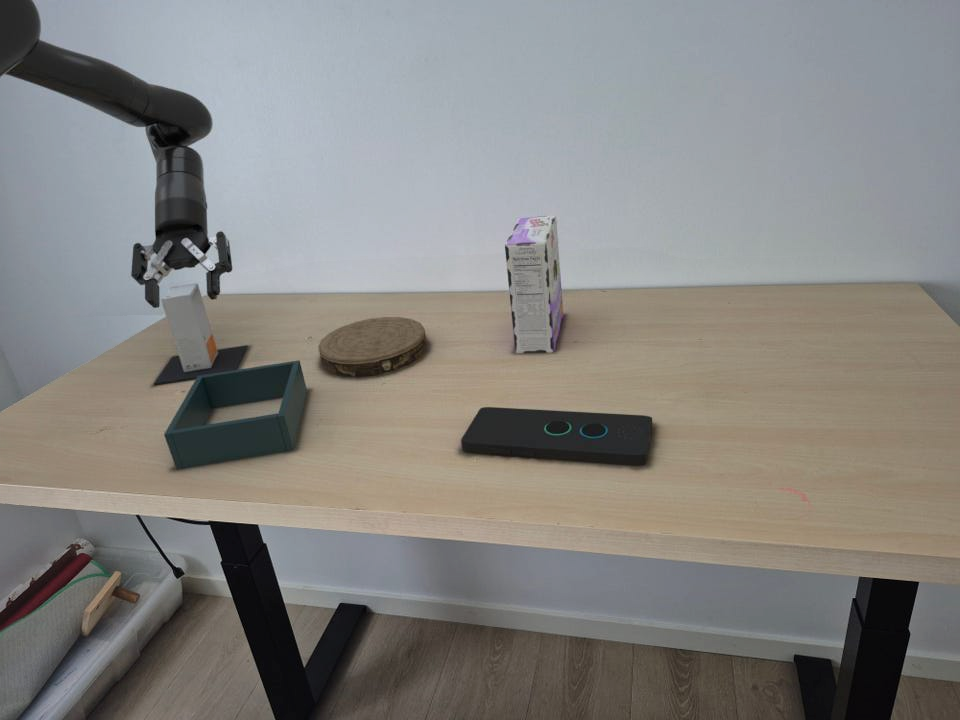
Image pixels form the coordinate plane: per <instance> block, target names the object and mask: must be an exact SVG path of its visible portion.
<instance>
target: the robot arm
mask: <svg viewBox="0 0 960 720" xmlns="http://www.w3.org/2000/svg"><path fill="white" fill-rule="evenodd" d="M41 34H42V21H41V17H40V12H39V10H38V7H37V5H36V4H35V2H34V0H0V78H1V77H3V76H4V75H6V76H9V77H12V78H15V79H19V80H22V81H24V82H27V83H30V84H34V85H36V86H39V87H41V88H45V89H47V90H50V91H52V92H55V93H59V94H60V95H64V96H65V97H67V98H70V99H73V100H76V101H77V102H80V103H81V104H84V105H87V106H89V107H90V108H93V109H95V110H98V111H99V112H101V113H104V114H106V115H108V116H110V117H112V118H115V119H116V120H119V121H121V122H122V123H125V124H126V125H127V124H128V125H129V126H132V127H136V128H144V129H145V130H144V131H145V134H146V135H145V136H146V137H147V141H148V144H149V146H150V149H151V152H152V155H153V158H154V161H155V165H156V168H155V170H156V171H155V173H156V174H155V175H156V178H155V180H156V183H155V184H156V185H155V190H154V234H155V235H154V236H155V240H154V241H153V244H151V245H150V244H149V245H142V244H141V243H140V242H136V243H134V244H133V246H132V257H131V258H132V259H131V271H130V274H131V275H130V276H131V278H132V279H133V280H135V282H137V283H138V285H140V286H144V299H145V302H147V303H148V304H149V306H151V307H152V308H153V309H157V308H160V306H161V305H160V303H161V301H160V286H159V284H160V283H161V282H162V280H163V279H164V278H165V277H168V276H169V275H170V273H171V272H172V271H173V270H174V271H179V270H182V269H186V268H187V269H193V268H196V266H197V265H200V266H201V267H203V269H204V270H206V272H205V273H206V274H205V279H206V294H207V296H208V298H210V300H211V301H212V300H217V299H218V296H220V294H221V276H222V275H223V274H225V273H228V274H230V273H231V272H232V271H233V261H232V253H231V244H230V240H229V238H228V237H227V236H226V234H225V232H223V231H220V230H219V231H217V232H216V234H215V235H213V236H209V235H208V233H209V232H208V201H207V194H206V190H205V175H204V174H205V173H204V162H203V159H202V157H201V154H199V152H198V151H197V150H196V149H194V148H192V147H190V146H192V145H193V144H195V143H198V142H199V141H201V140H203V139H205V138H206V137H207V136H209V135H210V133H211V132H212V130H213V126H214V123H213V117H212V114H211V112H210V110H209V108H207V106H206V105H205V104H204V103H203V102H202V101H201V100H200V99H198V98H196V96H193V95H191V94H190V93H187V92H184V91H181V90H178V89H174V88H169V87H167V86H163V85H158V84H153V83H149V82H147V81H145V80H144V79H142V78H140V77H138V76H136V75H134V74H133V73H131V72H129V71H127V70H126V69H124V68H122V67H120V66H117V65H115V64H113V63H110V62H108V61H105V60H103V59H100V58H97V57H93V56H91V55H87V54H83V53H80V52H77V51H73V50H70V49H67V48H63V47H61V46H58V45H55V44H52V43H49V42H46V41H45V40H42V39H41V36H42V35H41ZM212 246H213V247H214V248H215V250H217V256H218V261H217V262H216V263H214V262H213V261H211V260H210V258H209V257H208V256H207V253H208V252H209V250H210V249H211V248H212ZM154 254H155V257H154V258H153V259H152V256H153V255H154ZM151 260H152V261H151ZM149 261H150V266H149V268H148V264H149ZM163 263H164V265H163Z"/></svg>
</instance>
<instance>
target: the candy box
mask: <svg viewBox="0 0 960 720" xmlns="http://www.w3.org/2000/svg"><path fill="white" fill-rule="evenodd" d="M557 223H558V222H557V216H556V215H542V216H541V215H540V216H529V217H528V216H527V217H519V218H518V220H517V222H516V223H515V225H514V227H513V229H512V231H511V233H510V234H509V237H508V238H507V240H506V241H505V244H504V251H505V260H506V272H507V283H508V291H509V302H510V310H511V311H510V312H511V322H512V331H513V332H512V333H513V342H514V353H515V354H543V353H544V354H548V353H551V354H552V353H554V352H555V350H556V347H557V342H558V340H559V339H558V338H559V335H560V332H561V331H560V330H561V327H562V322H563V318H564V305H563V303H564V302H563V291H562V278H561V264H560V263H561V262H560V249H559V237H558V225H557Z"/></svg>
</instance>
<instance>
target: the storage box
mask: <svg viewBox="0 0 960 720" xmlns="http://www.w3.org/2000/svg"><path fill="white" fill-rule="evenodd" d="M307 394H308V389H307V384H306V380H305V377H304V373H303V369H302V365H301V360H299V359H298V360H294V361H293V360H292V361H285V362H278V363H273V364H267V365H260V366H253V367H246V368H241V369H237V370H233V371H227V372H220V373H214V374H207V375H201V376H198V377H197V378H196V379H194V382H193V384H192V385H191V387H190V389H189V390H188V392H187V394H186V396H185V397H184V398H183V400H182V402H181V404H180V406H179V408H178V409H177V411H176V413H175V415H174V416H173V418H172V420H171V421H170V424H169V425H168V426H167V429H166V430H165V432H164V434H163V436H164V438H165V442H166V445H167V447H168V450H169V453H170V455H171V458H172V461H173V463H174V464H173V465H174V466H175V469H176V470H181V469H187V468H194V467H201V466H205V465H207V466H208V465H214V464H220V463H224V462H231V461H237V460H242V459H251V458H255V457H262V456H268V455H273V454H274V455H275V454H281V453H287V452H292V451H293V452H294V450H295V446H296V442H297V437H298V434H299V429H300V424H301V421H302V415H303V412H304V407H305V402H306V400H307V399H306V398H307ZM281 398H282V400H281V403H280V407H279V410H278V413H271V414H266V415H265V414H264V415H259V416H253V417H246V418H240V419H234V420H228V421H222V422H221V421H220V422H214V423H209V424H208V423H207V424H206V422H207V420H208V418H209V417H210V414H211V412H212V410H213V409H217V408H225V407H230V406H238V405H244V404H249V403H257V402H262V401H268V400H275V399H281Z"/></svg>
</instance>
